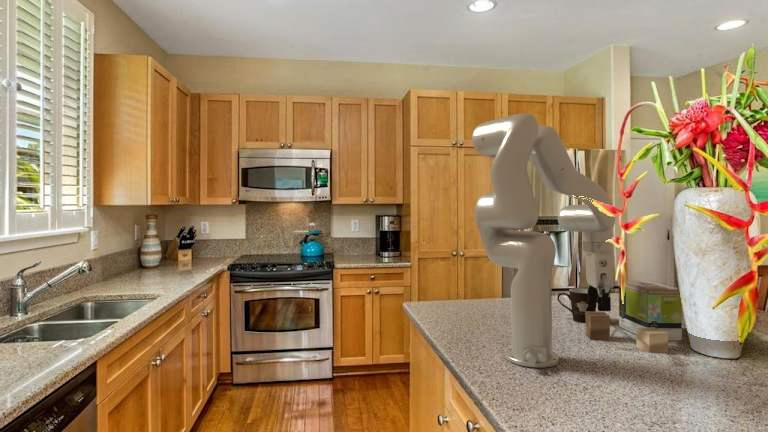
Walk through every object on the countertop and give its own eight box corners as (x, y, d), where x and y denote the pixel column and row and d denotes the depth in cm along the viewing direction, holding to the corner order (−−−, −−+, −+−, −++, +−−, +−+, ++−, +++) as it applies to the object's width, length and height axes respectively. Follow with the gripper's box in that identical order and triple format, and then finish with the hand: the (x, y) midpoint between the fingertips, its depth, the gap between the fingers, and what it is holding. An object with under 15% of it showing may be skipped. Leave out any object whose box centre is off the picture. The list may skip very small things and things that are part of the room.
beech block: (668, 352, 107) (667, 332, 107) (649, 352, 107) (649, 333, 107) (654, 345, 112) (654, 327, 112) (636, 346, 112) (636, 328, 112)
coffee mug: (603, 321, 137) (603, 291, 137) (589, 325, 132) (589, 294, 132) (570, 314, 146) (570, 286, 146) (555, 318, 142) (555, 289, 141)
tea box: (683, 341, 116) (683, 288, 116) (647, 341, 116) (646, 288, 116) (650, 326, 131) (649, 279, 131) (617, 326, 131) (617, 279, 131)
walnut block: (609, 341, 117) (609, 316, 117) (590, 340, 118) (590, 315, 118) (604, 335, 122) (604, 311, 122) (585, 335, 123) (585, 311, 123)
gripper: (622, 250, 110) (624, 314, 111) (601, 244, 127) (603, 299, 128) (591, 251, 112) (593, 314, 112) (575, 244, 129) (577, 299, 129)
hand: (598, 306), depth 120 cm, fingers open, 9 cm apart
